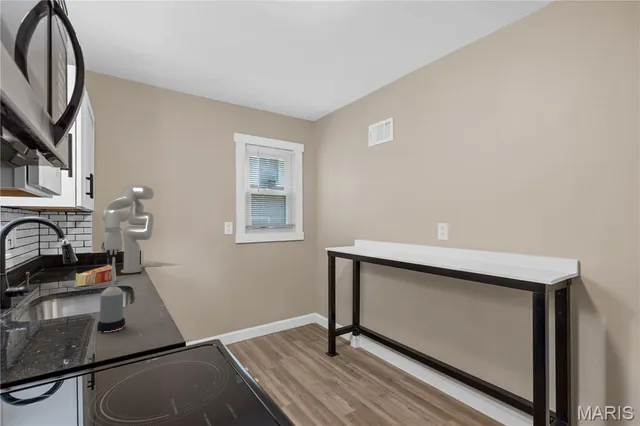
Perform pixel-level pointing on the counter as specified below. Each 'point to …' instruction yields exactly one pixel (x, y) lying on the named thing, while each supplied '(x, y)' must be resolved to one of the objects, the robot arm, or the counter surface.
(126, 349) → the counter surface
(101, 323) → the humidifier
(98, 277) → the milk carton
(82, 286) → the mat
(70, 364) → the counter surface
